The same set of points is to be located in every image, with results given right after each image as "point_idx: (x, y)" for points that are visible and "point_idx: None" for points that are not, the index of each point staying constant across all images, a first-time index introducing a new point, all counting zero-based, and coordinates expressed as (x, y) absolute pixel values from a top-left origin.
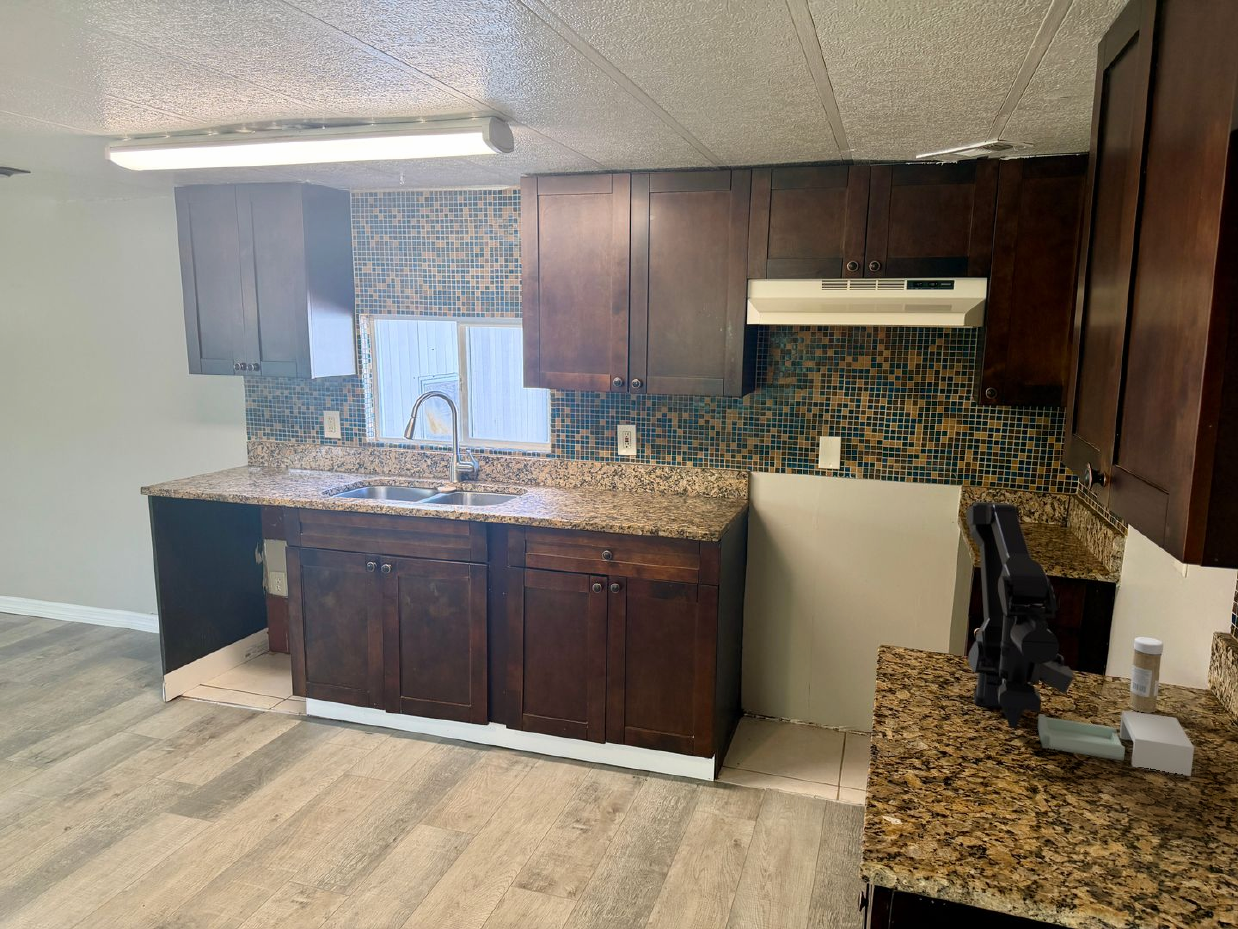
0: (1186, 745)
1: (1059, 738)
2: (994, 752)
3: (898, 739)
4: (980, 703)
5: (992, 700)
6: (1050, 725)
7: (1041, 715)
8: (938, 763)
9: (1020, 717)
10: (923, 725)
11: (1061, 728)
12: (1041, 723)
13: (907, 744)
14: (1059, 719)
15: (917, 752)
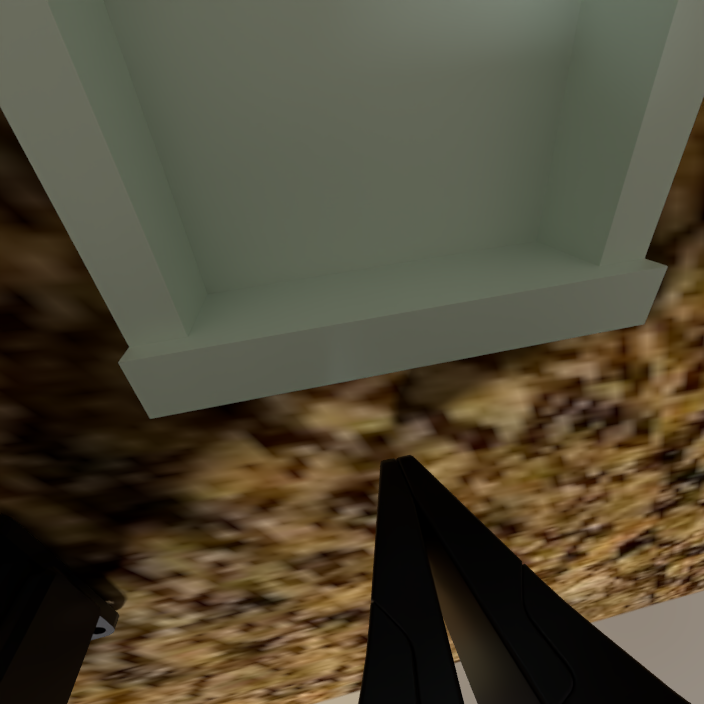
0: None
1: (674, 156)
2: (622, 452)
3: None
4: (106, 620)
5: (70, 634)
6: (180, 254)
7: (180, 393)
8: (698, 535)
9: (488, 530)
10: None
11: (137, 118)
12: (418, 365)
13: (585, 601)
14: (45, 159)
15: (631, 577)
